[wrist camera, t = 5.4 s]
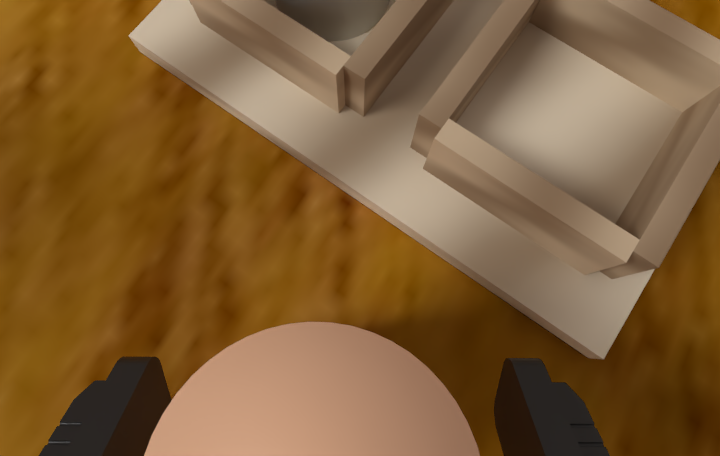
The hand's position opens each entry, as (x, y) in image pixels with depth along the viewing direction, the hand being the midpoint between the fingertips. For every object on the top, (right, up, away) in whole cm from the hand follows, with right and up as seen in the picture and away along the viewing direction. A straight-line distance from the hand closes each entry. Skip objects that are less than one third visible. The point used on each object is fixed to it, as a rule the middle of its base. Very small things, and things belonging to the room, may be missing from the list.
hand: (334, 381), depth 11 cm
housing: (+4, +10, +7) cm, 13 cm away
